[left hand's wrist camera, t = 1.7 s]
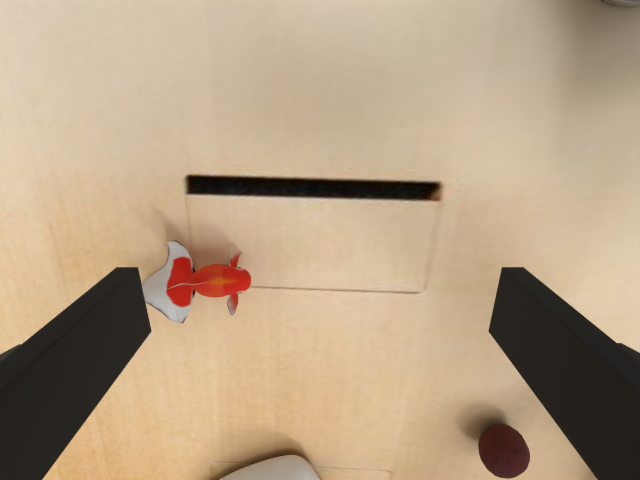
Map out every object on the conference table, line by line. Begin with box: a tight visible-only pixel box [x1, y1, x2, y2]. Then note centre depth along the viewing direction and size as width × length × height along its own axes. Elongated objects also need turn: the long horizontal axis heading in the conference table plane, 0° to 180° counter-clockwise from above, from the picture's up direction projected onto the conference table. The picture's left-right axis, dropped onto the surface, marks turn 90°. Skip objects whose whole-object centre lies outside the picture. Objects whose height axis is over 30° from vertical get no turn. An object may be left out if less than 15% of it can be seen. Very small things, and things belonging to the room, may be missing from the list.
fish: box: [142, 241, 251, 323], centre depth 44 cm, size 11×16×10 cm
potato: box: [478, 424, 530, 478], centre depth 56 cm, size 7×8×7 cm
